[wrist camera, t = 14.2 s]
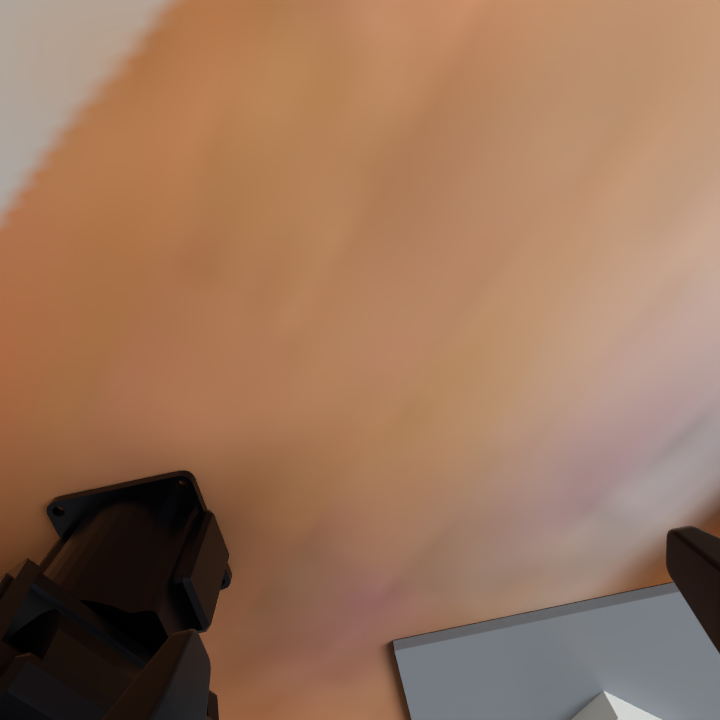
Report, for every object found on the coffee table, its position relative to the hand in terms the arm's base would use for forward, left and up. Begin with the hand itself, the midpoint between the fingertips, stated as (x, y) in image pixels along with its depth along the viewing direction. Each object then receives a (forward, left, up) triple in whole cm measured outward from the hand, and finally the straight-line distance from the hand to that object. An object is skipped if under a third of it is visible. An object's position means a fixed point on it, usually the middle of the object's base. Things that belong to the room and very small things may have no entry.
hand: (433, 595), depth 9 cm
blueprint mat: (+8, -25, -12) cm, 29 cm away
